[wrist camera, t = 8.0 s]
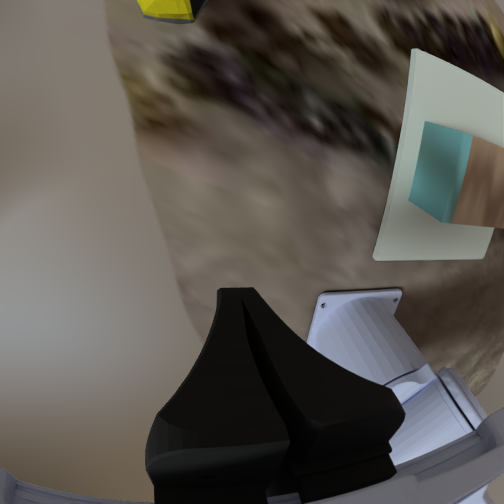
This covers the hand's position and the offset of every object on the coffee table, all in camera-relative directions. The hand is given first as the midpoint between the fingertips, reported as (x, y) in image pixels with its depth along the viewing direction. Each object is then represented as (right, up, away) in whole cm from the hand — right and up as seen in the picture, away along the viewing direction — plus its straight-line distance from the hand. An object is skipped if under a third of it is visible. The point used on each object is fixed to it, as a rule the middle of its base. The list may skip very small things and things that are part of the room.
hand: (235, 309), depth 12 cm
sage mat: (+18, +9, +9) cm, 22 cm away
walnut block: (+20, +8, +8) cm, 23 cm away
